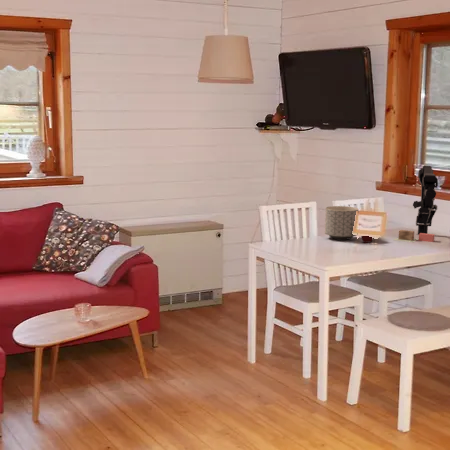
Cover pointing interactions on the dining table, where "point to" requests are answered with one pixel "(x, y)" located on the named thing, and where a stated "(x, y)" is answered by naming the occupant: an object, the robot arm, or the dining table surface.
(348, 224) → the planter
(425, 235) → the brick red
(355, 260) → the dining table surface
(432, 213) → the robot arm
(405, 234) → the brick walnut
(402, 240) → the plate
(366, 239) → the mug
